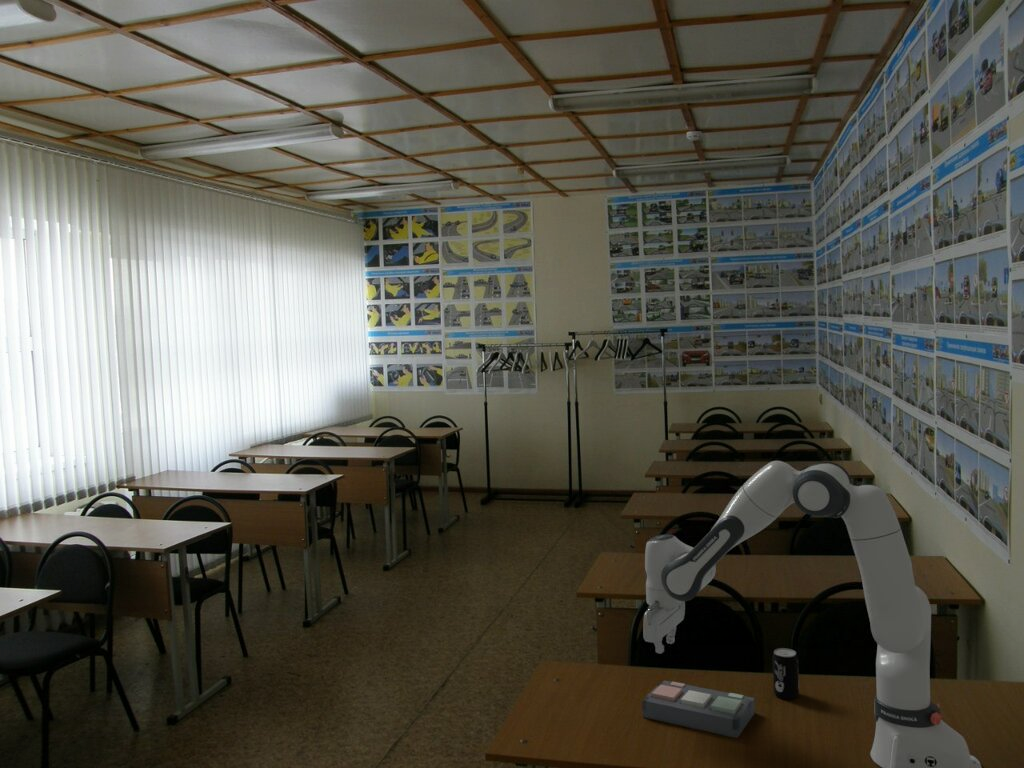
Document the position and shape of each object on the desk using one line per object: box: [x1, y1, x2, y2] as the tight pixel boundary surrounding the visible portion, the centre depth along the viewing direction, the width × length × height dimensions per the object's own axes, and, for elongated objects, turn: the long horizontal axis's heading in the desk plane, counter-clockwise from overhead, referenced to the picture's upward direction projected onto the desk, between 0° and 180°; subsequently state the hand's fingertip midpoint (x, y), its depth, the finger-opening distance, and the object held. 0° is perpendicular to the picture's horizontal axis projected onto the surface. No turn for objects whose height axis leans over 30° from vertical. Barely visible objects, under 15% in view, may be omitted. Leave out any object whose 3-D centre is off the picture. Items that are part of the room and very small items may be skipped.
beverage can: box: [772, 647, 800, 701], centre depth 223 cm, size 7×7×12 cm
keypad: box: [641, 680, 756, 739], centre depth 215 cm, size 25×15×4 cm, turn 57°
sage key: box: [711, 696, 742, 715], centre depth 209 cm, size 6×6×2 cm
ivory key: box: [681, 690, 711, 708], centre depth 213 cm, size 6×6×2 cm
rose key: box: [652, 685, 682, 702], centre depth 218 cm, size 6×6×2 cm
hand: (665, 647), depth 217 cm, fingers open, 6 cm apart
